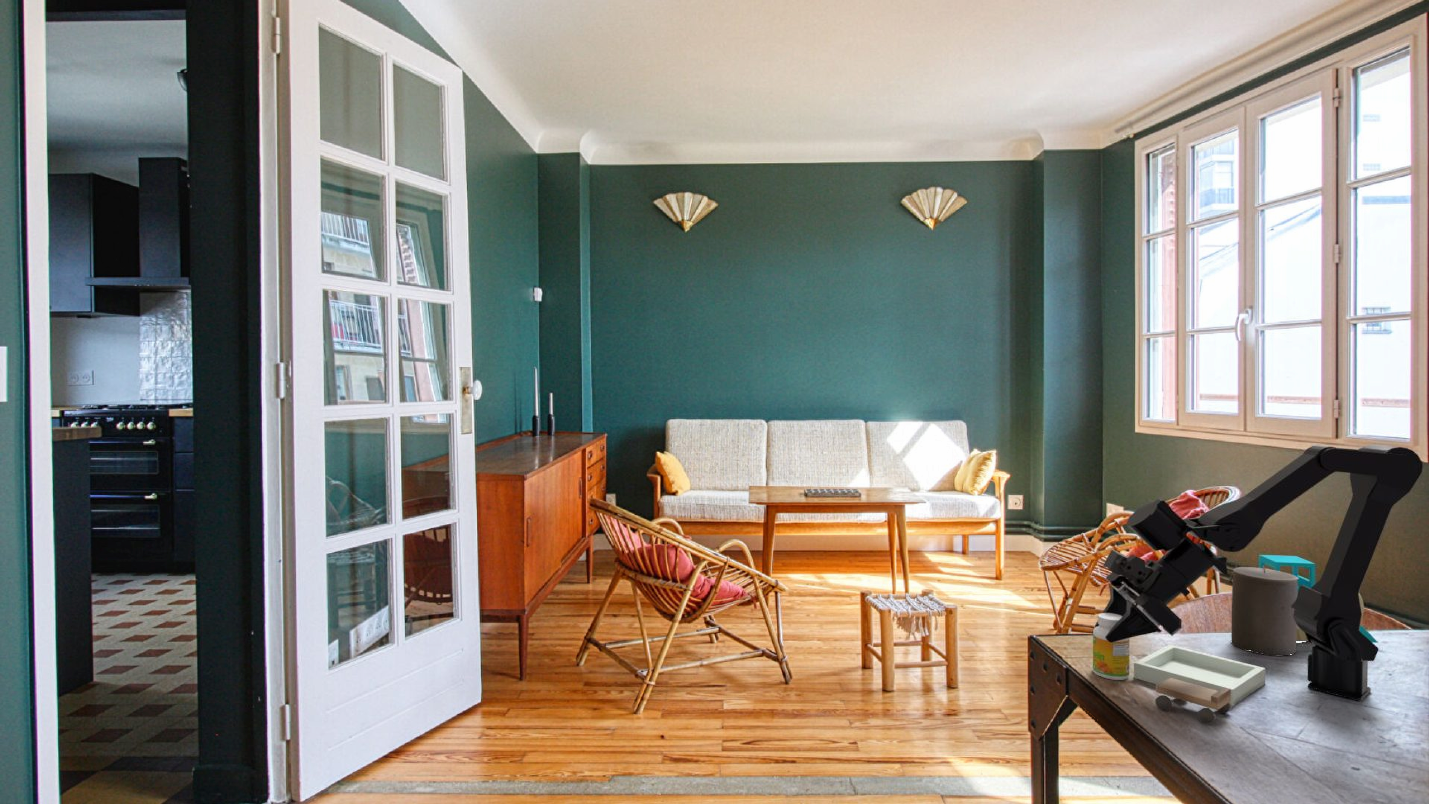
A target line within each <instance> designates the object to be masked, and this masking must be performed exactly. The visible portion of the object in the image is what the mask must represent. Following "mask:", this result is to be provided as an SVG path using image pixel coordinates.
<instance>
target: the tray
mask: <svg viewBox="0 0 1429 804" xmlns="http://www.w3.org/2000/svg"><path fill="white" fill-rule="evenodd" d="M1133 678H1134V679H1137V680H1140V681H1144V682H1148V683H1151V684H1155V685H1158V684H1160V683H1162V682H1164V681H1165V680H1167V679H1169V678H1173V679H1177V680H1180V681H1184V682H1188V683H1191V684H1195V685H1198V686H1202V687H1206V688H1209V689H1213V690H1216V691H1219V690H1221V689H1222V688H1224V687H1225V688H1229V689H1231V701H1230V704H1231V707H1235V705H1237V704H1238V703H1239V702H1241V701H1242V700H1245V698H1247V697H1248V696H1249V695H1251V694H1252V693H1254V692H1255V691H1257V690H1258V689H1259V688H1262V686H1264V685H1265V684H1266V668H1265V667H1263V666H1258V665H1254V664H1251V663H1250V664H1249V663H1246V662H1242V661H1238V660H1234V659H1230V658H1226V657H1222V656H1217V655H1213V654H1209V653H1204V652H1201V651H1197V650H1193V649H1189V648H1184V647H1181V646H1176V645H1173V644H1168V645H1167V646H1164V647H1163V648H1160V649H1159V650H1157V651H1155V652H1152V653H1151V654H1149V655H1146V656H1144V657H1142V658H1141V659H1138V660H1137V661H1134V662H1133Z"/></svg>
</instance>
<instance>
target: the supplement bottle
mask: <svg viewBox="0 0 1429 804" xmlns="http://www.w3.org/2000/svg"><path fill="white" fill-rule="evenodd" d="M1122 617H1123V616H1121V615H1118V614H1112V613H1103V612H1101V613H1098V614H1097V621H1098V624H1099V626H1097V627H1095V626H1094V628H1093V631H1092V671H1093V673H1094V674H1095V675H1096V676H1098V677H1100V676H1101V678H1104V679H1107V680H1108V679H1109V680H1113V681H1122V680H1127V679H1128V678H1129V677H1130V641H1131V640H1130V639H1131V638H1127V639H1123V640H1119V641H1115V642H1109V641H1108V640H1107V639H1106V638H1105V636H1106V635H1107V634H1108V633H1109V631H1110V630H1111V629H1112V628H1113V627H1114V626H1115V624H1116V623H1117V622H1118V621H1119V620H1120V619H1121V618H1122Z"/></svg>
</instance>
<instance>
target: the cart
mask: <svg viewBox="0 0 1429 804" xmlns="http://www.w3.org/2000/svg"><path fill="white" fill-rule="evenodd" d="M1155 686H1156V687H1155V692H1156V693H1157V694H1161V695H1159V696H1157V697H1155V703H1154V704H1155V705H1156V707H1157V708H1158V709H1159V710H1161V711H1164V712H1166V711H1169V710H1171V709H1172V707H1173V701H1172V700H1171V698H1175V700H1178V701H1181V702H1182V701H1185V702H1188V703H1191V704H1195V705H1198V706H1202V708H1200V709H1199V710H1198V711H1197V718H1198V719H1199V721H1200V722H1201V723H1203V724H1205V725H1211V724H1213V723H1214V722H1215V721H1216V718H1217V717H1216V714H1215V712H1214V711H1216V712H1219V714H1220V713H1221V714H1227V713H1228V712H1230V711H1231V708H1232V706H1231V704H1230V701H1231V689H1229V688H1225V687H1224V688H1222V689H1221V690H1219V691H1216V690H1213V689H1209V688H1206V687H1202V686H1198V685H1195V684H1191V683H1188V682H1184V681H1180V680H1177V679H1173V678H1169V679H1167V680H1165V681H1164V682H1162V683H1160V684H1158V685H1157V684H1155Z"/></svg>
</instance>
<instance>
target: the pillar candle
mask: <svg viewBox="0 0 1429 804" xmlns="http://www.w3.org/2000/svg"><path fill="white" fill-rule="evenodd" d="M1298 579H1299V578H1298V577H1296V576H1294V575H1292V573H1289V572H1284V571H1281V570H1280V571H1276V570H1274V569H1272V568H1271V569H1270V568H1265V565H1264V566H1263V568H1259V567H1251V566H1250V567H1249V566H1238V567H1234V569H1233V570H1232V582H1231V583H1232V589H1231V593H1232V595H1231V596H1232V597H1231V635H1230V636H1231V640H1230V642H1231V641H1232V643H1233V644H1235V645H1236V647H1238V648H1239V647H1240V649H1241V648H1242V649H1241V650H1244V651H1246V650H1251V651H1253V652H1252V653H1254V652H1258V653H1257V654H1259V653H1263V654H1262V655H1264V654H1268V655H1267V656H1272V655H1290V654H1294V653H1295V652H1296V653H1297V643H1296V630H1297V624H1296V622H1295V620H1294V618H1293V614H1294V610H1295V609H1293V608H1291V605H1292V604H1293V603H1294V602H1295V601H1296V599H1297V585H1298ZM1232 643H1231V644H1232ZM1233 644H1232V645H1233ZM1235 645H1234V646H1235ZM1245 649H1246V650H1245ZM1296 653H1295V654H1296ZM1295 654H1294V655H1295Z"/></svg>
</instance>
